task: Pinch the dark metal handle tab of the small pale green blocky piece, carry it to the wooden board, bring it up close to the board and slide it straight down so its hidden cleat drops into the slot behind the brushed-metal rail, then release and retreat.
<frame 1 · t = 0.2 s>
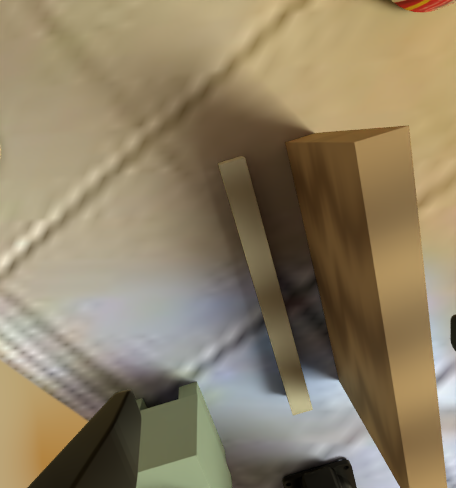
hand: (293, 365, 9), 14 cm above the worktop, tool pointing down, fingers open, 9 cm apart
pale green blocky piece: (180, 427, 27), on the worktop
wooden board: (328, 273, 24), on the worktop
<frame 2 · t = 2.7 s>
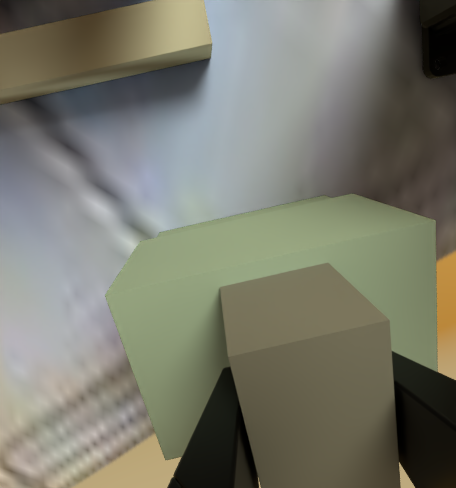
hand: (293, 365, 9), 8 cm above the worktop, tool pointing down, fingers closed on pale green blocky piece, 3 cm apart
pale green blocky piece: (253, 266, 16), on the worktop, touching gripper
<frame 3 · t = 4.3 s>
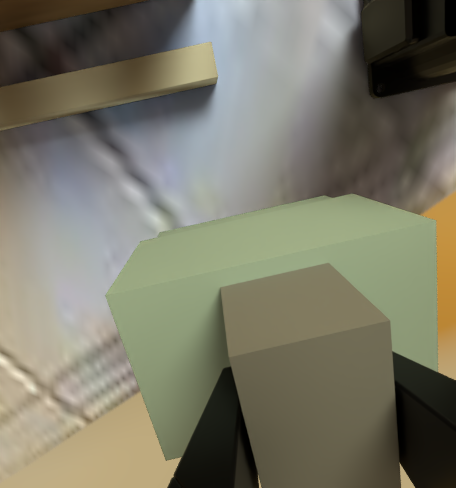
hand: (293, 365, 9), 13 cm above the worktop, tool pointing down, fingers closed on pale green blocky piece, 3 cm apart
pale green blocky piece: (253, 266, 16), point 5 cm above the worktop, touching gripper
wooden board: (4, 7, 17), on the worktop
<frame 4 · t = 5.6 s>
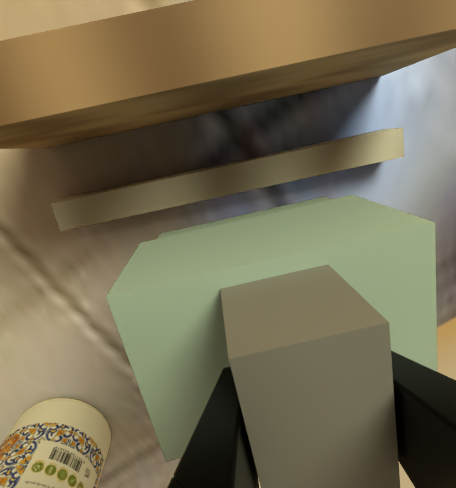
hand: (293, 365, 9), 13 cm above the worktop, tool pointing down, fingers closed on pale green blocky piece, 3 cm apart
bath foam: (67, 428, 25), on the worktop
pale green blocky piece: (253, 267, 16), point 5 cm above the worktop, touching gripper
wooden board: (211, 93, 18), on the worktop
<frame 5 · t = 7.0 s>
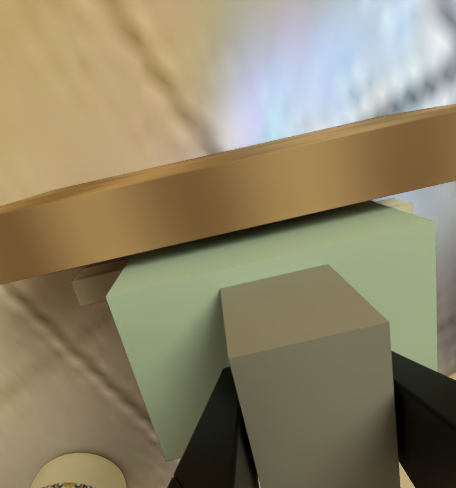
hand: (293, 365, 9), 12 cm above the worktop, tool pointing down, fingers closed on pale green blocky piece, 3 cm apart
bath foam: (83, 480, 25), on the worktop
pale green blocky piece: (253, 267, 16), point 5 cm above the worktop, touching gripper
wooden board: (225, 169, 19), on the worktop
when the fingers open (8 cm above the worktop, at t = 8.4 s): pale green blocky piece stays where it is, resting on wooden board.
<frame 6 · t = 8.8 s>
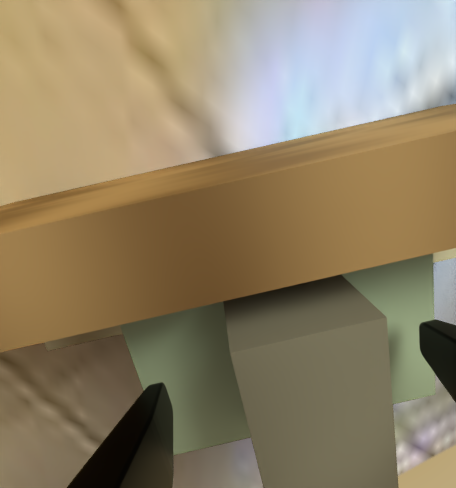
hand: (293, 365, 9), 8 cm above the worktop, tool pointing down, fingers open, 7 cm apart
pale green blocky piece: (253, 266, 16), resting on wooden board
wooden board: (233, 175, 15), on the worktop
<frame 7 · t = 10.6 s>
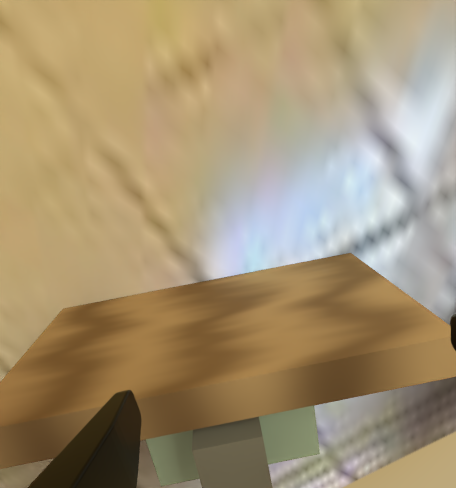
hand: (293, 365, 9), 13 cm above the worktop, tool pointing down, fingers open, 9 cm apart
pale green blocky piece: (223, 349, 24), resting on wooden board
wooden board: (210, 293, 22), on the worktop
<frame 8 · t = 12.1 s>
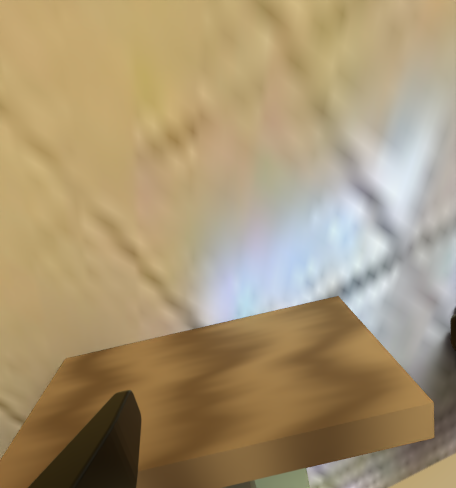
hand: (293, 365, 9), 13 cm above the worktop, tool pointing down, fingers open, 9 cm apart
pale green blocky piece: (220, 389, 25), resting on wooden board
wooden board: (205, 339, 23), on the worktop
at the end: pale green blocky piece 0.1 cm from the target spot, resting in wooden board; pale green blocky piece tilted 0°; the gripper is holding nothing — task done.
